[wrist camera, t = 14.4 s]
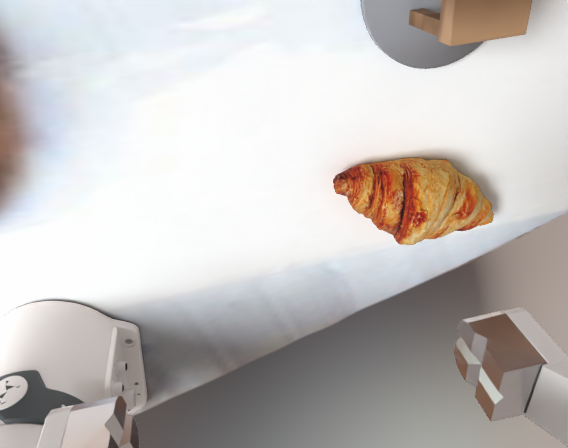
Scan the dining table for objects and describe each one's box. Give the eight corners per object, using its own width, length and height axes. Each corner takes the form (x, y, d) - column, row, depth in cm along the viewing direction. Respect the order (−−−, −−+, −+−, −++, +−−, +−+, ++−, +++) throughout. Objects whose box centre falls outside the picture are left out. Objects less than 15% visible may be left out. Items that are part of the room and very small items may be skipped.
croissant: (479, 175, 55) (534, 174, 48) (464, 253, 56) (516, 265, 48) (327, 139, 48) (363, 131, 41) (311, 229, 49) (343, 238, 41)
